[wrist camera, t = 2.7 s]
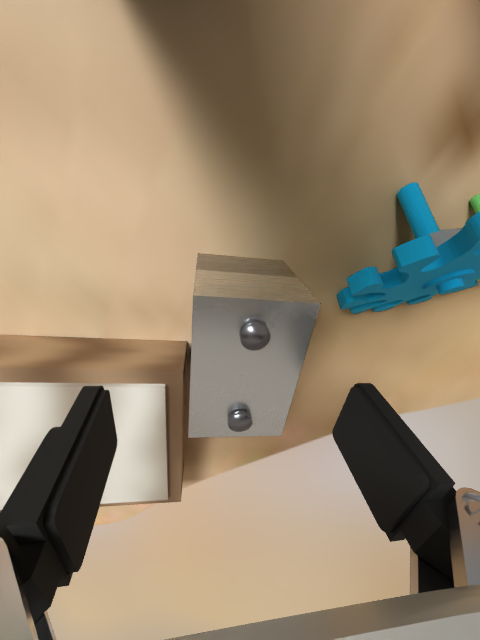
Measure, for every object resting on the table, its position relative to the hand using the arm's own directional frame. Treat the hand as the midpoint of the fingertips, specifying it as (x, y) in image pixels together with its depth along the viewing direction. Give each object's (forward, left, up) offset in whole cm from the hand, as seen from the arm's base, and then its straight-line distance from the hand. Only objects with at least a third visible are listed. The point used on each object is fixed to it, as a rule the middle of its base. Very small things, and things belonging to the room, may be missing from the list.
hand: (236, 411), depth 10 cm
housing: (-1, 0, -8) cm, 8 cm away
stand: (+9, +9, -8) cm, 15 cm away
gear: (-11, -5, -8) cm, 14 cm away
